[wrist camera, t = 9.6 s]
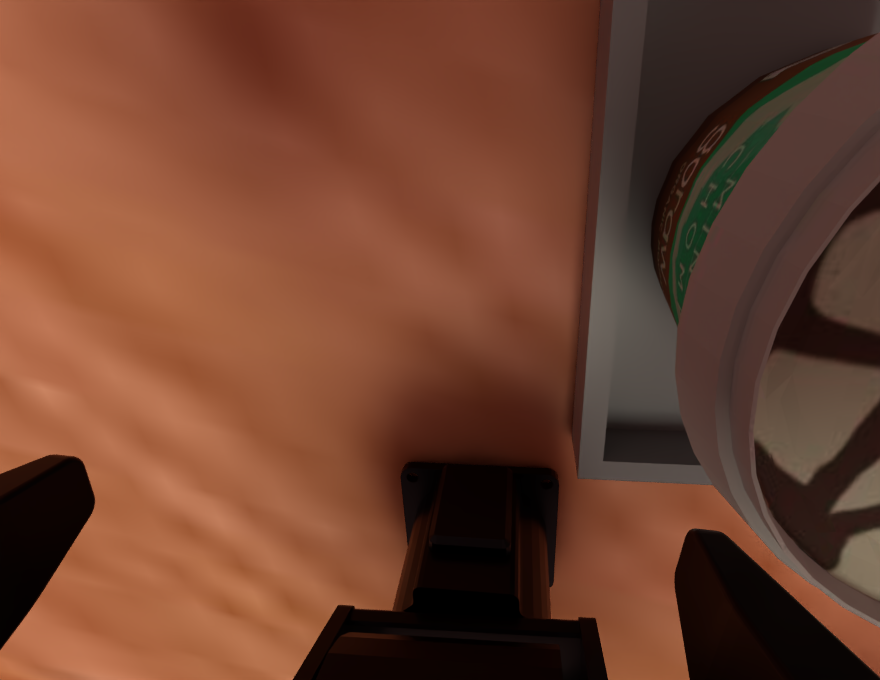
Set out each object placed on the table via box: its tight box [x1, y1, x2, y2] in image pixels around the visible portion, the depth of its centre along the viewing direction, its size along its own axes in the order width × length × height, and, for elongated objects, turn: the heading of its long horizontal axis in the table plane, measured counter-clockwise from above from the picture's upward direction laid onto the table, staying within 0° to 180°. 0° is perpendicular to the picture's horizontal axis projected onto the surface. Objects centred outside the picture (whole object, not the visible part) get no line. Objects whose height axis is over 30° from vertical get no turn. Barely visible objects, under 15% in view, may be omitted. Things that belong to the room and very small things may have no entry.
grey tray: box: [572, 0, 880, 485], centre depth 16 cm, size 17×11×2 cm, turn 3°
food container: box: [651, 32, 880, 627], centre depth 12 cm, size 12×6×10 cm, turn 3°
